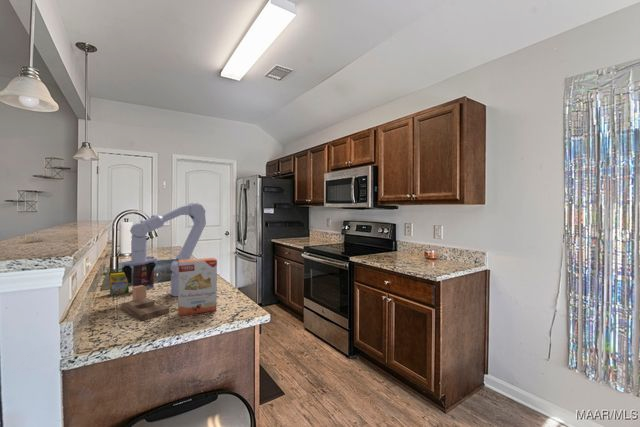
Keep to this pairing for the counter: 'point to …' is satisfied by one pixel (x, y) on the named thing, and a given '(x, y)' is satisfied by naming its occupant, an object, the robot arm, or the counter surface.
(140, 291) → the terracotta plug
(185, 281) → the cracker box
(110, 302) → the counter surface
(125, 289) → the crayon box
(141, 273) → the supplement box
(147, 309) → the notched board
